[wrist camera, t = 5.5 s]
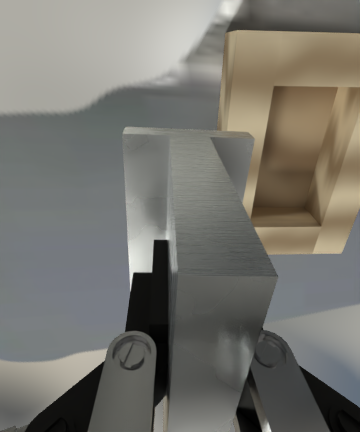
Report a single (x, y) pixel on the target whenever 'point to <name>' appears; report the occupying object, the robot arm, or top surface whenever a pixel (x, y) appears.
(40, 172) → the top surface
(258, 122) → the well block
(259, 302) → the t bracket
